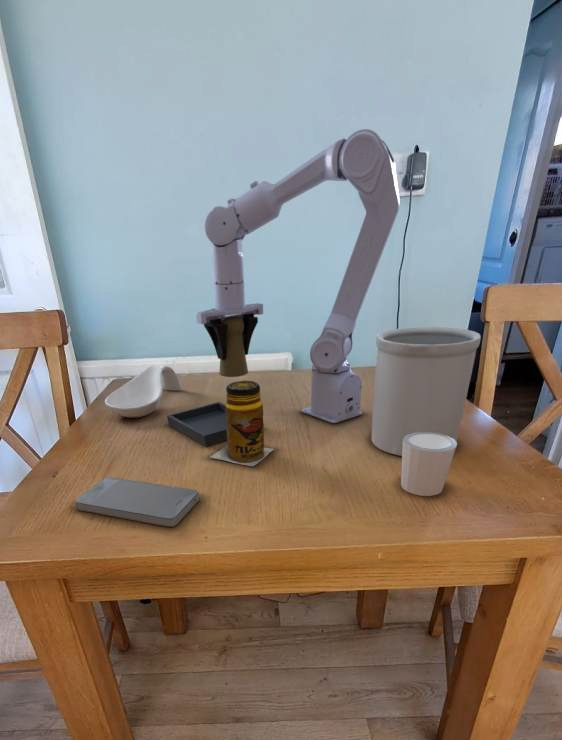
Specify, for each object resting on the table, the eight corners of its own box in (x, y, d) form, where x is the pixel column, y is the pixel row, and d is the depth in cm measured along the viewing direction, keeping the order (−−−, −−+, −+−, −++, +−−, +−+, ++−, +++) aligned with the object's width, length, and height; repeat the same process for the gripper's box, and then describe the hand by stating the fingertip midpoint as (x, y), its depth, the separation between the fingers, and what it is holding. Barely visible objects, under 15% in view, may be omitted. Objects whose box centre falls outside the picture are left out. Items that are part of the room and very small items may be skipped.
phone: (108, 483, 71) (107, 476, 71) (202, 498, 66) (201, 490, 65) (74, 509, 65) (72, 501, 64) (174, 528, 60) (173, 519, 59)
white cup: (407, 471, 70) (414, 427, 66) (454, 483, 66) (464, 437, 62) (388, 489, 65) (394, 443, 62) (437, 503, 62) (447, 455, 58)
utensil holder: (351, 433, 84) (359, 331, 75) (421, 421, 87) (437, 322, 78) (398, 466, 71) (415, 349, 62) (478, 450, 75) (505, 337, 66)
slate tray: (260, 429, 87) (260, 419, 86) (205, 446, 82) (204, 435, 81) (219, 411, 98) (219, 401, 96) (168, 425, 92) (166, 415, 91)
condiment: (254, 467, 74) (251, 393, 67) (209, 458, 77) (203, 387, 71) (274, 450, 79) (273, 380, 73) (231, 442, 83) (227, 375, 77)
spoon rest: (148, 425, 92) (142, 390, 89) (97, 421, 96) (89, 387, 92) (194, 390, 111) (190, 360, 108) (150, 388, 115) (146, 358, 111)
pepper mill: (236, 378, 93) (233, 320, 87) (213, 374, 96) (208, 318, 91) (254, 371, 97) (252, 315, 91) (231, 368, 100) (228, 313, 95)
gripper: (247, 278, 94) (250, 347, 101) (185, 285, 87) (192, 359, 94) (269, 279, 89) (270, 352, 96) (204, 287, 82) (210, 365, 89)
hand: (233, 356), depth 95 cm, fingers closed on pepper mill, 5 cm apart
